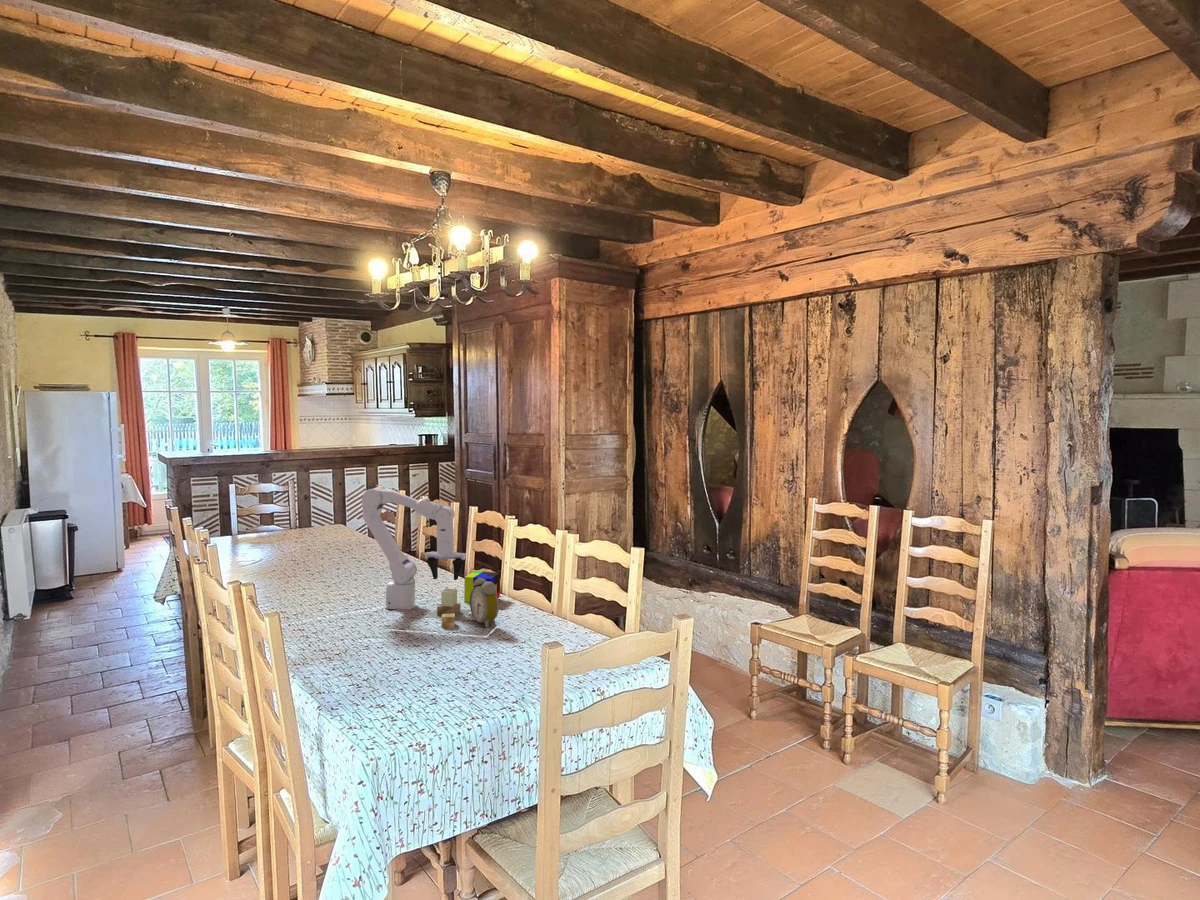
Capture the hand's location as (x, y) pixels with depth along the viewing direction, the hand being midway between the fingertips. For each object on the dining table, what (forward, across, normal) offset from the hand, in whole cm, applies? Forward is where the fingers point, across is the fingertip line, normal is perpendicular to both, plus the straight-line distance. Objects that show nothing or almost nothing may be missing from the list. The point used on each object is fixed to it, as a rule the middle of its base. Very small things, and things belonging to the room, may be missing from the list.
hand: (445, 579), depth 250 cm
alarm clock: (+11, +20, -16) cm, 28 cm away
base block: (+10, +4, -8) cm, 13 cm away
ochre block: (+11, +9, -21) cm, 25 cm away
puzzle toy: (+11, +9, +12) cm, 19 cm away
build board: (+10, +4, -8) cm, 14 cm away
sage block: (+7, +4, -8) cm, 12 cm away
